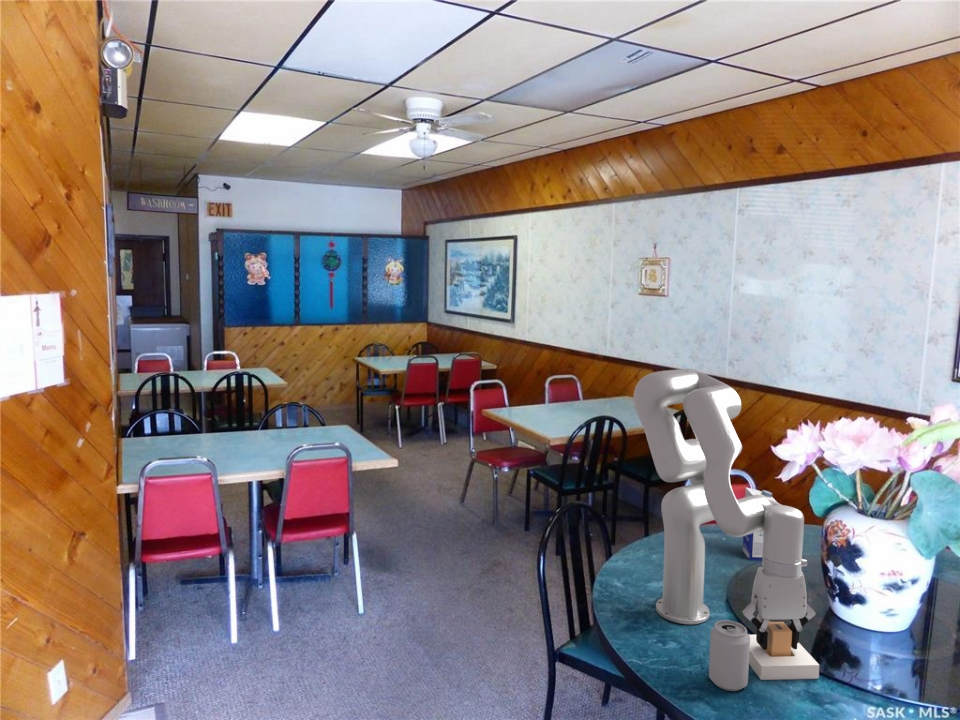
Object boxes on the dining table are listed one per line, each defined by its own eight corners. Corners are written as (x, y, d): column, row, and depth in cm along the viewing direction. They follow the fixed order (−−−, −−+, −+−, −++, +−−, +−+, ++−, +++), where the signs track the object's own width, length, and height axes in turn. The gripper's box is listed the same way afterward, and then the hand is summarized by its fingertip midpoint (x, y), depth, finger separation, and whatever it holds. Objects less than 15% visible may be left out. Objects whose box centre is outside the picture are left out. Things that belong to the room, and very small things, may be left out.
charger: (762, 656, 145) (764, 621, 144) (781, 656, 145) (783, 621, 144) (771, 667, 141) (773, 631, 140) (790, 667, 141) (792, 631, 140)
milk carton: (742, 550, 201) (745, 486, 198) (765, 551, 200) (768, 487, 198) (749, 560, 194) (752, 494, 191) (773, 561, 193) (777, 494, 191)
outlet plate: (736, 647, 149) (737, 634, 148) (790, 646, 149) (790, 633, 149) (760, 679, 137) (761, 666, 136) (818, 678, 137) (819, 665, 137)
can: (738, 671, 140) (741, 617, 138) (754, 693, 132) (757, 636, 131) (703, 671, 140) (705, 617, 138) (717, 694, 132) (719, 637, 131)
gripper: (812, 557, 144) (807, 636, 146) (733, 558, 144) (730, 637, 146) (831, 572, 137) (826, 655, 139) (748, 573, 136) (744, 656, 138)
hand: (777, 645), depth 142 cm, fingers open, 5 cm apart
